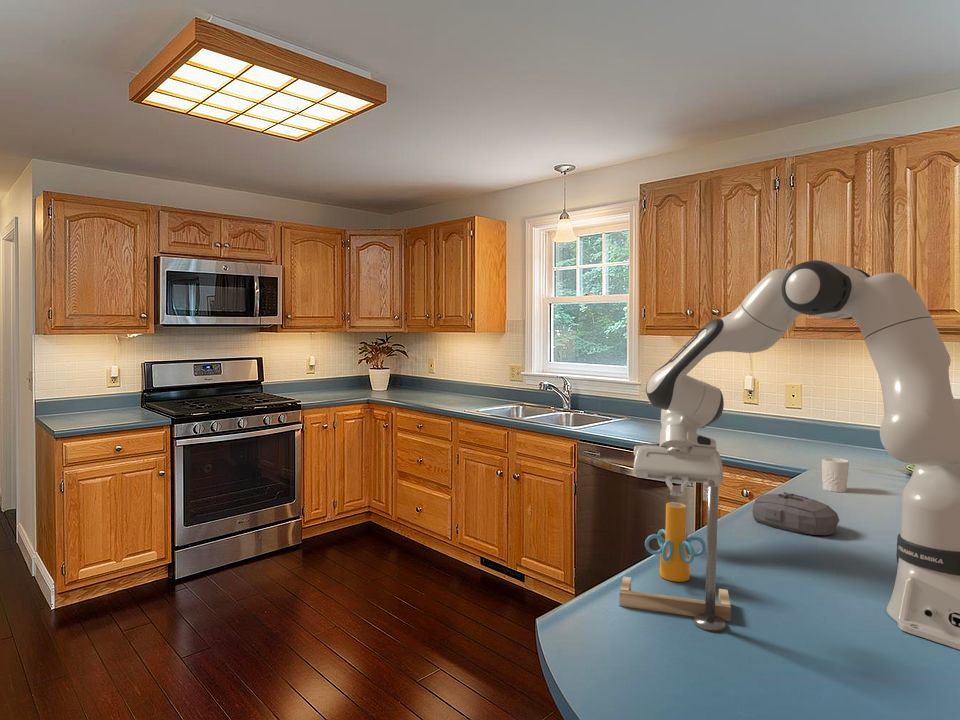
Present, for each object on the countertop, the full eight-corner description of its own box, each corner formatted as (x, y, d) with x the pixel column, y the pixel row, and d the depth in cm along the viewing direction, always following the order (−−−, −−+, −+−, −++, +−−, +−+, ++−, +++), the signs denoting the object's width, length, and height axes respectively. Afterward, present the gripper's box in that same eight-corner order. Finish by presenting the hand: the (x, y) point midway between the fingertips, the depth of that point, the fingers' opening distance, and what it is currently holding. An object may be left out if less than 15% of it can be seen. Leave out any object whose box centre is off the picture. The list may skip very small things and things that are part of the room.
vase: (662, 562, 135) (663, 494, 135) (709, 574, 129) (711, 503, 128) (637, 579, 126) (639, 506, 125) (688, 592, 119) (690, 516, 119)
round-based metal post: (693, 603, 115) (696, 475, 114) (722, 607, 113) (725, 477, 112) (694, 629, 104) (698, 488, 104) (726, 633, 103) (730, 491, 102)
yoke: (623, 589, 121) (623, 576, 121) (727, 602, 115) (727, 589, 115) (619, 605, 113) (619, 592, 113) (730, 621, 107) (730, 607, 107)
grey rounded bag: (745, 523, 166) (825, 542, 151) (746, 492, 166) (826, 509, 150) (771, 513, 176) (848, 530, 160) (772, 484, 175) (850, 499, 160)
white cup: (848, 489, 205) (849, 459, 204) (847, 494, 198) (848, 463, 198) (821, 485, 209) (822, 456, 209) (819, 490, 202) (820, 460, 202)
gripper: (633, 435, 152) (629, 483, 143) (722, 440, 146) (724, 491, 137) (634, 449, 157) (630, 497, 148) (721, 455, 150) (722, 505, 141)
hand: (676, 494), depth 142 cm, fingers closed
